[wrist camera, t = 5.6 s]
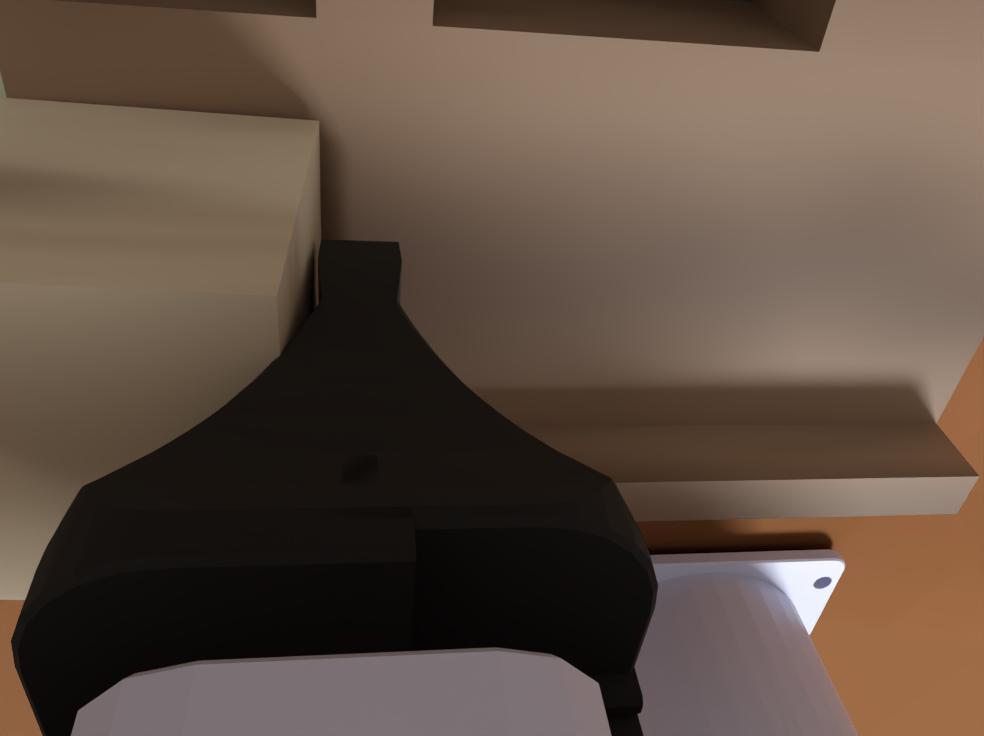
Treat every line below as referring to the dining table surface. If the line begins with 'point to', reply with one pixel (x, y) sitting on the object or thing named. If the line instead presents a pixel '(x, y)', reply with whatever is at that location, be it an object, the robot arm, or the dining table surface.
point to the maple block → (136, 288)
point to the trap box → (628, 213)
